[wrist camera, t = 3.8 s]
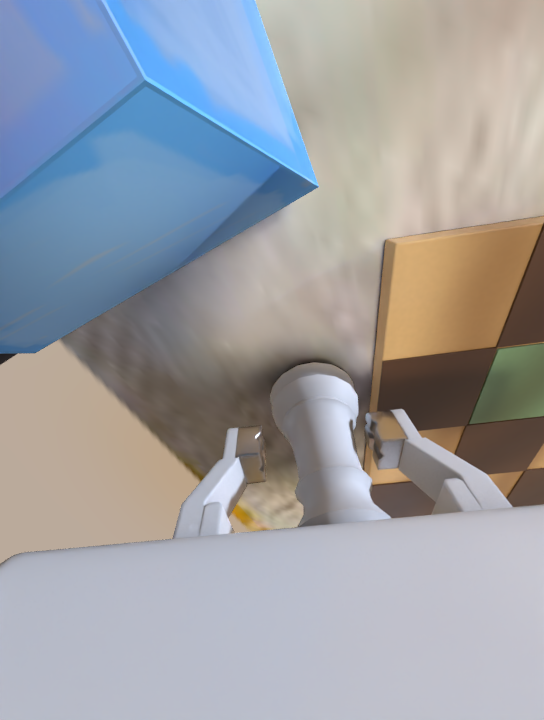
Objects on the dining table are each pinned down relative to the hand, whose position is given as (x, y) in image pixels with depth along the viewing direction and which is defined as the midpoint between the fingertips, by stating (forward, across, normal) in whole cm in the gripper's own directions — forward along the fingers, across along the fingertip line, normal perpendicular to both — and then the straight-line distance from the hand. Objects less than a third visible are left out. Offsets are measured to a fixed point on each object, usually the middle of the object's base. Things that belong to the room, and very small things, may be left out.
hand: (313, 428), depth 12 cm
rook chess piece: (+3, 0, 0) cm, 3 cm away
